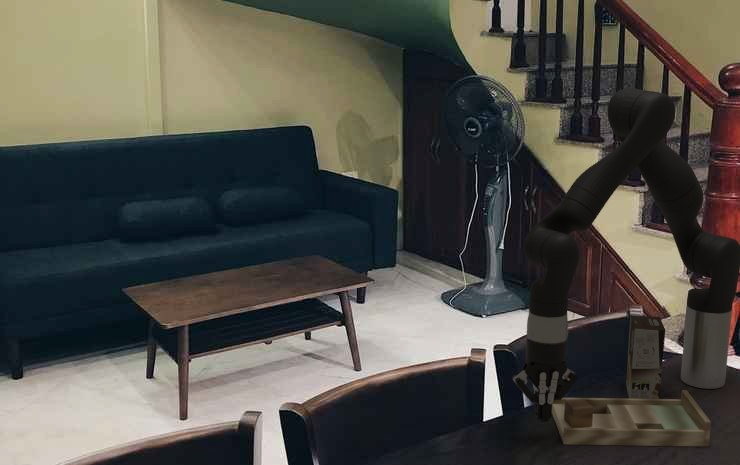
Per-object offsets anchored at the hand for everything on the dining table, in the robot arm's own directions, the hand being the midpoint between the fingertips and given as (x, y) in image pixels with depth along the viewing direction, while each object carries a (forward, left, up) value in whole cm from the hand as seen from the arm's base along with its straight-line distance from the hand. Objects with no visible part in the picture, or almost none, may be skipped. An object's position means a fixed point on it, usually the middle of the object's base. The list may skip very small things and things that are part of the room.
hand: (542, 420), depth 168 cm
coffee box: (-21, +25, -4) cm, 33 cm away
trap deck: (-4, +17, -3) cm, 17 cm away
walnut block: (-2, +7, -1) cm, 7 cm away
